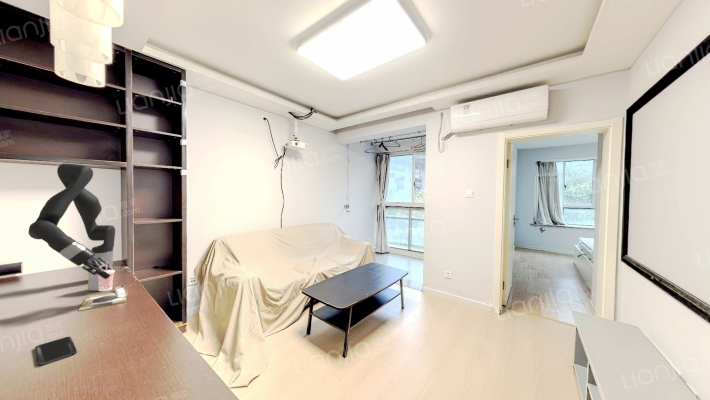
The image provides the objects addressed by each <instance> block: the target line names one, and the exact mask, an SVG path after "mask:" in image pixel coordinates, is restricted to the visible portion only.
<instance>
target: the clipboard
mask: <svg viewBox="0 0 710 400" xmlns="http://www.w3.org/2000/svg"><path fill="white" fill-rule="evenodd" d="M125 291H126V292H127V293H126V296H125V297H117V296H116V295H115V293H114V292H110V293H109V292H108V293H103V294H97V295H90V296H86V298H85V299H84V301H83V302H82V304H81V306H80V307H79V309H78V312H81V311H86V310H92V309H98V308H99V309H100V308H102V307H104V308H105V307H107V306H114V305H120V304H125V303H126V301H127V296H128V292H129V290H125ZM125 300H126V301H125Z"/></svg>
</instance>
